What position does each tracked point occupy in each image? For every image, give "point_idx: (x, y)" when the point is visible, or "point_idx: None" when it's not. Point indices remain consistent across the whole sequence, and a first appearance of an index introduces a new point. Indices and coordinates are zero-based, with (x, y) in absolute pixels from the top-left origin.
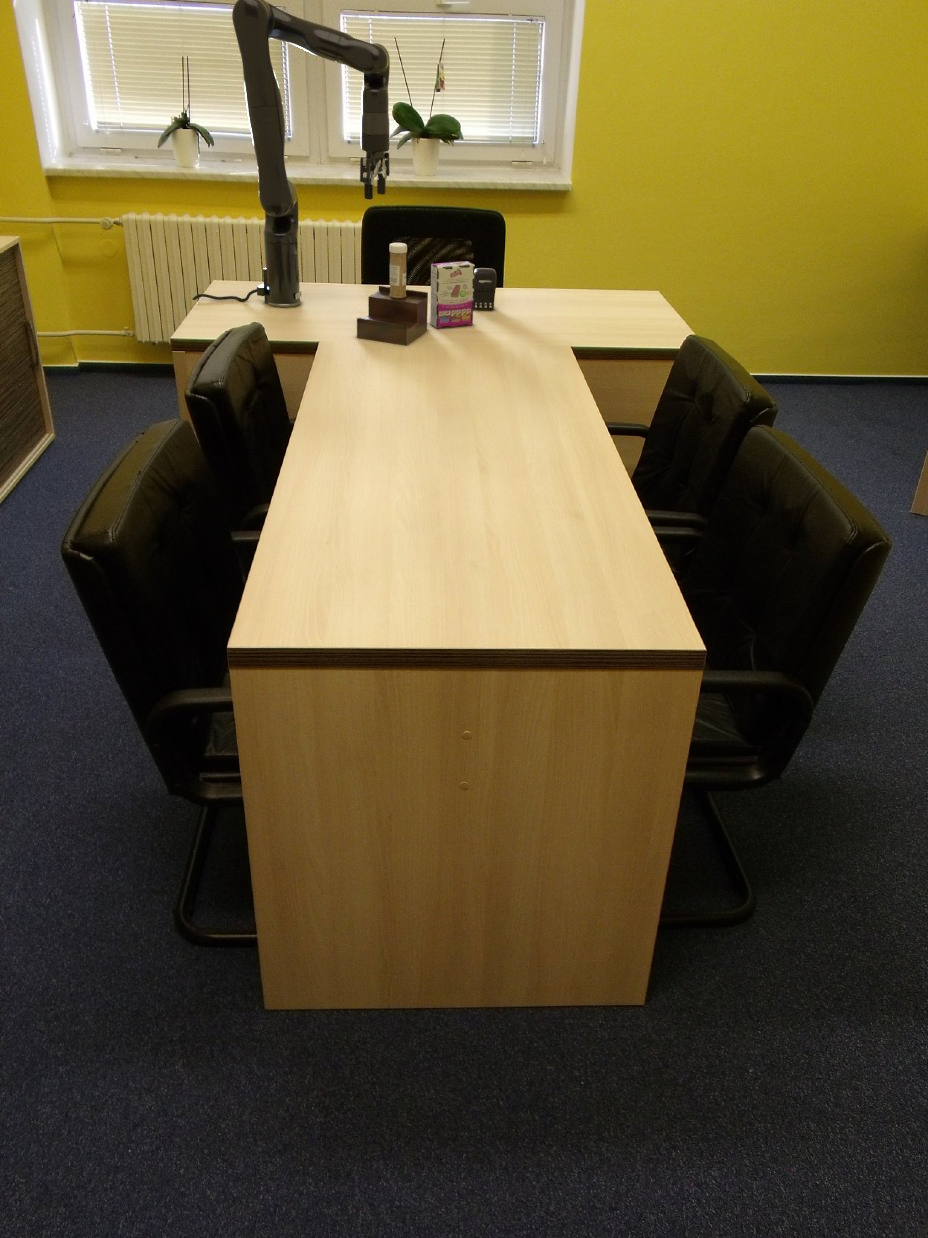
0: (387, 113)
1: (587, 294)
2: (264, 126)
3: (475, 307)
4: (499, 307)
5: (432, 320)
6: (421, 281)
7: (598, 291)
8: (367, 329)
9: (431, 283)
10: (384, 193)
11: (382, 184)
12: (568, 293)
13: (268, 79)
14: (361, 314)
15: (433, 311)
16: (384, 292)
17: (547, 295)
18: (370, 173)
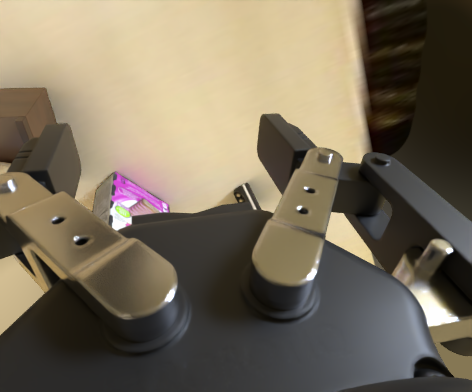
0: None
1: (357, 256)
2: None
3: (236, 193)
4: (264, 209)
5: (106, 182)
6: (394, 34)
7: (371, 258)
8: None
9: (106, 219)
10: (258, 156)
11: (275, 170)
12: (357, 241)
13: None
14: (77, 14)
15: (101, 195)
16: (14, 136)
17: (342, 229)
18: (37, 276)
